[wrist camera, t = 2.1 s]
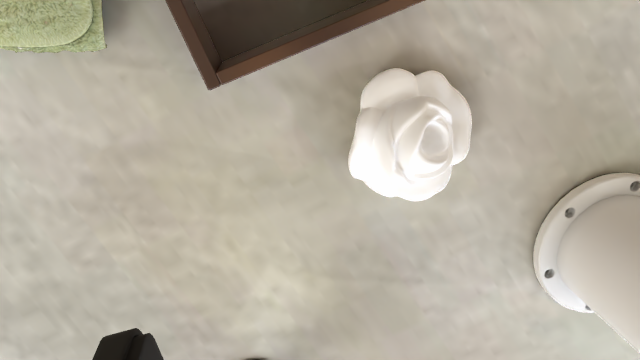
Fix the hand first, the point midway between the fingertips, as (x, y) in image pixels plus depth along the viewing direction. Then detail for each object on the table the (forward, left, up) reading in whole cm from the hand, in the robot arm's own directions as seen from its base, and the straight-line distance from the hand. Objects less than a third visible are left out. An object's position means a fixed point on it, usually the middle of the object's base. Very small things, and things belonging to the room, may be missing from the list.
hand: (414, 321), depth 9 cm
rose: (-6, +6, -27) cm, 29 cm away
